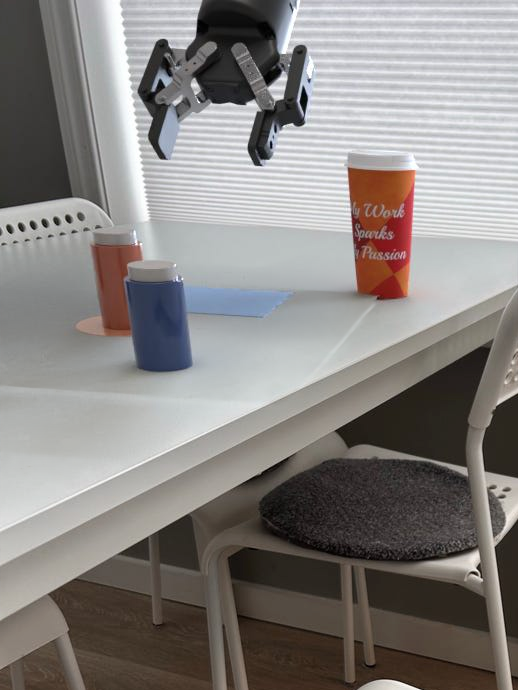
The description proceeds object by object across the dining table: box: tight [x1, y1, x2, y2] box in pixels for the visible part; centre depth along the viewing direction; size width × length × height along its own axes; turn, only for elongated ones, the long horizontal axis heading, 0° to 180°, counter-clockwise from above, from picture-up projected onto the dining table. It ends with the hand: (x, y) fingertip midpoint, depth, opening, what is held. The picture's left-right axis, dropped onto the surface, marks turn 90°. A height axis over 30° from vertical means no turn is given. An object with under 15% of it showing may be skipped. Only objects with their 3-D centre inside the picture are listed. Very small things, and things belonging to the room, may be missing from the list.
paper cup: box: [343, 149, 420, 300], centre depth 102 cm, size 8×8×14 cm
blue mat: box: [184, 285, 295, 318], centre depth 97 cm, size 14×12×1 cm
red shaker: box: [88, 227, 145, 330], centre depth 85 cm, size 4×4×8 cm
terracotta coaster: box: [75, 315, 132, 338], centre depth 87 cm, size 9×9×1 cm
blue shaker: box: [123, 259, 194, 373], centre depth 75 cm, size 4×4×8 cm
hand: (207, 156), depth 78 cm, fingers open, 8 cm apart
